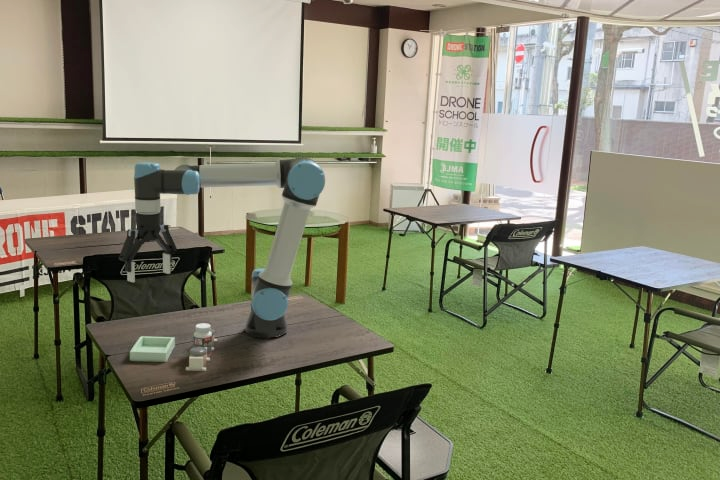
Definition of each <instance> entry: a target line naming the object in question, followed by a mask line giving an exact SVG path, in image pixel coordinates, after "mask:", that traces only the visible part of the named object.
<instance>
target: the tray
mask: <svg viewBox="0 0 720 480" xmlns="http://www.w3.org/2000/svg"><path fill="white" fill-rule="evenodd" d="M175 347H176V337H175V336H172V337H171V336H149V335H148V336H146V335H143V336H142V335H141V336H140V337H139V338H137V340H136V342H135V344H134V345H133V347H132V348H131V350H130V351H129V361H131V362H153V363H154V362H156V363H157V362H158V363H159V362H160V363H166V362H168V361H169V360H168V359H169V358H170V356H171V354H172V352H173V350H174V349H175Z"/></svg>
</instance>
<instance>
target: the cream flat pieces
mask: <svg viewBox="0 0 720 480" xmlns="http://www.w3.org/2000/svg"><path fill="white" fill-rule="evenodd" d="M217 342H218V339H217V338H214V343H217ZM204 348H206V349H207V347H204ZM214 350H215V347H214V346H213V347H212V351H213V352H214ZM212 351H211V352H212ZM188 359H189V360H188V366H186V367H185V371H195V372H197V371H198V372H207V366H205V367H203V357H190V356H189V358H188ZM210 361H211V357H207V361H206V362H210Z"/></svg>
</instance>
